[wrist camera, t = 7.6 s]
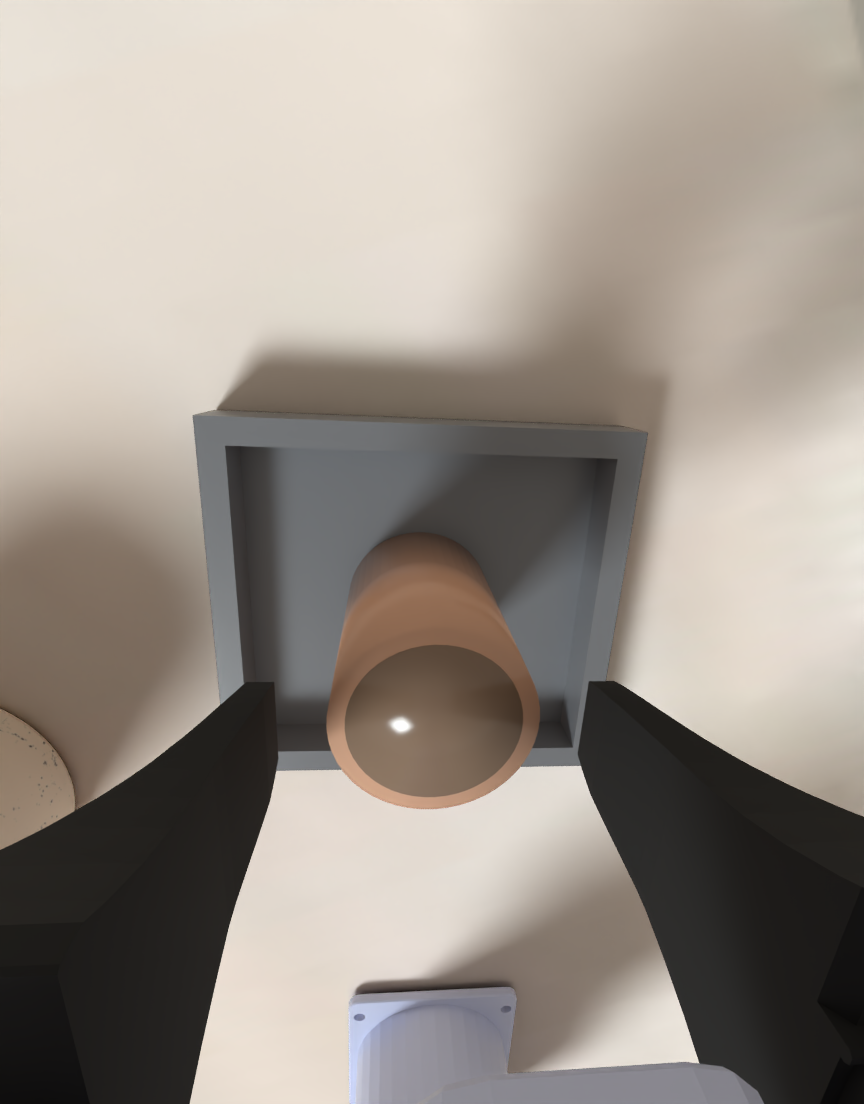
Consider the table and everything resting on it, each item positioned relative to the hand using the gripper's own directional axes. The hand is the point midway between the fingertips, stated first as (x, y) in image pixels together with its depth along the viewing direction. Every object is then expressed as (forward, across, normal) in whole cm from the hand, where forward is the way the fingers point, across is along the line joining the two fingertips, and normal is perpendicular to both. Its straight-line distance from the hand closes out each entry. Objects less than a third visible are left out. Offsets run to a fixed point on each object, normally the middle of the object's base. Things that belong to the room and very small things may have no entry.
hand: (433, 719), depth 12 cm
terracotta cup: (+7, 0, 0) cm, 7 cm away
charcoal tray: (+7, 0, 0) cm, 7 cm away
